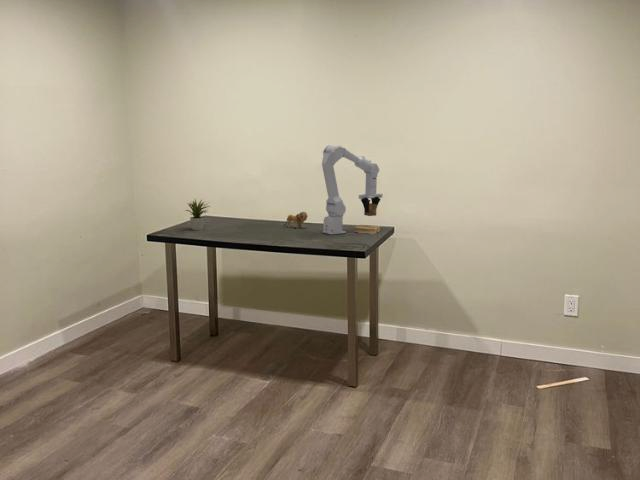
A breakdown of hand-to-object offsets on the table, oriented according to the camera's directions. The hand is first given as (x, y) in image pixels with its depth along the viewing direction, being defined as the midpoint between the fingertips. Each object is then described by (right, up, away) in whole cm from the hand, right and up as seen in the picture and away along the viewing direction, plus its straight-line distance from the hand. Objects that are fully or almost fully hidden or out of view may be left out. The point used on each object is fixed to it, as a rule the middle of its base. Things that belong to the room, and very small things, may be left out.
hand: (370, 211), depth 316 cm
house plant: (-91, -10, -3) cm, 91 cm away
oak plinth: (-2, -11, -6) cm, 12 cm away
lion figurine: (-39, -8, +6) cm, 41 cm away
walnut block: (0, -2, 0) cm, 2 cm away
